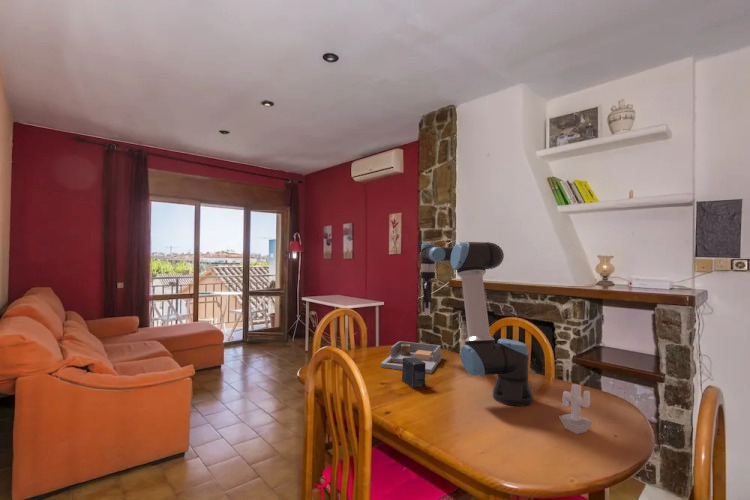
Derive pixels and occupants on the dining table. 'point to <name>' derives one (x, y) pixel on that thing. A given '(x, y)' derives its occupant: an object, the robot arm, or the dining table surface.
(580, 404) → the figurine
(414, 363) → the box
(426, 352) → the terracotta tile
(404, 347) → the walnut block
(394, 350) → the cubby deck
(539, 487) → the dining table surface
